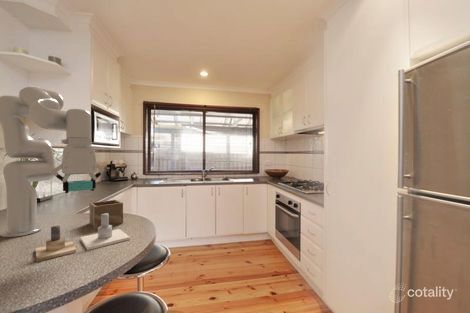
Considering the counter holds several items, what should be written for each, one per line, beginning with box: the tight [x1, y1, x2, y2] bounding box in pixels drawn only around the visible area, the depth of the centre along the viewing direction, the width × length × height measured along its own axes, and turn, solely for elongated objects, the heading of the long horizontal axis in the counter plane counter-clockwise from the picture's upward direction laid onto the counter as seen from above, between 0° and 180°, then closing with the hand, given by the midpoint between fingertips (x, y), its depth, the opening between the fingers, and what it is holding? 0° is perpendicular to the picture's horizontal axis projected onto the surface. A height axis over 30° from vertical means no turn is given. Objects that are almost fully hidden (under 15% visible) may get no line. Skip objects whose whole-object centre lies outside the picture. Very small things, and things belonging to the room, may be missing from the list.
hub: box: [80, 213, 131, 251], centre depth 85 cm, size 14×14×10 cm
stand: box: [35, 225, 77, 263], centre depth 75 cm, size 12×10×8 cm
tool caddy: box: [89, 199, 124, 229], centre depth 108 cm, size 12×12×10 cm
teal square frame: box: [67, 179, 93, 192], centre depth 80 cm, size 7×7×3 cm
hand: (79, 191), depth 80 cm, fingers closed on teal square frame, 7 cm apart
